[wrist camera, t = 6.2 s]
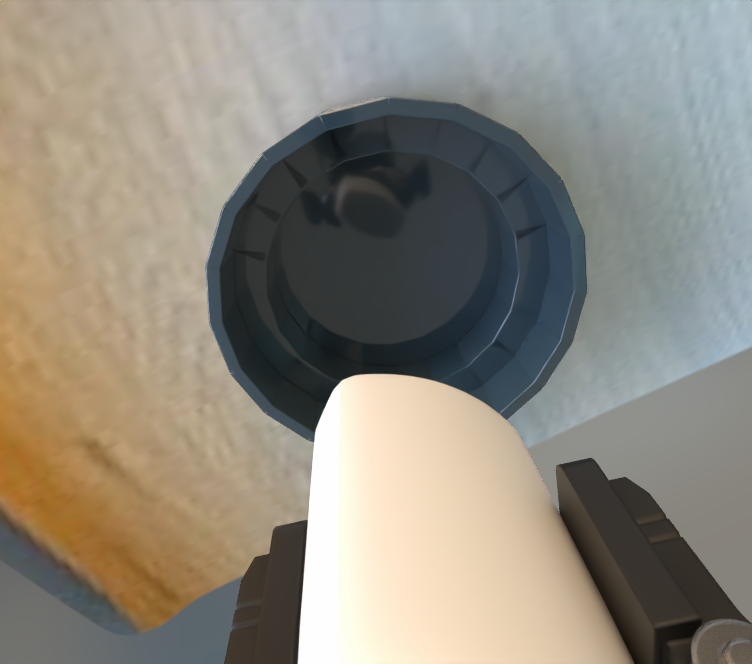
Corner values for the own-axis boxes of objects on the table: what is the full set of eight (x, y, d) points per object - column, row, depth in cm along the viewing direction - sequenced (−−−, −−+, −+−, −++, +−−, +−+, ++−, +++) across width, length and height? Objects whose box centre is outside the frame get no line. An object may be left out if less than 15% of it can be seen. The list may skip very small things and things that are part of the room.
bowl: (186, 145, 23) (139, 160, 18) (522, 59, 23) (577, 48, 17) (289, 416, 30) (277, 485, 25) (547, 358, 30) (592, 416, 24)
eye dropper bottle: (414, 520, 15) (580, 1512, 5) (291, 408, 13) (74, 1763, 3) (533, 447, 14) (1098, 1504, 4) (421, 313, 12) (983, 1910, 2)
